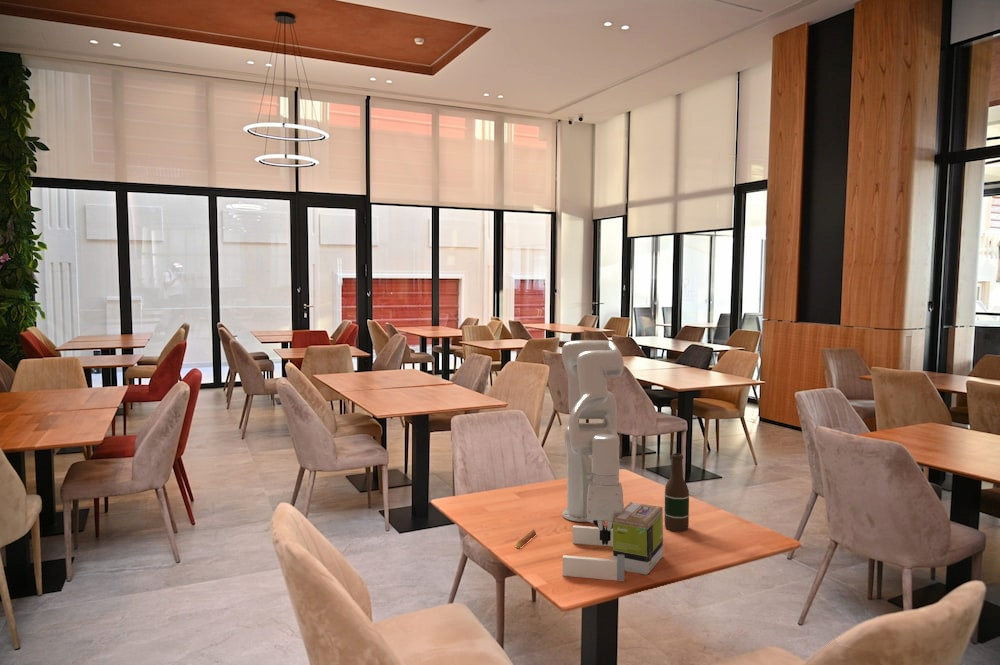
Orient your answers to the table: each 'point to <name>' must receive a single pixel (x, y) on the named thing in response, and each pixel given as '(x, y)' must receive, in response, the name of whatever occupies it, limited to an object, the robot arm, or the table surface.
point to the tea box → (639, 537)
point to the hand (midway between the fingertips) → (605, 542)
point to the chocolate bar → (526, 538)
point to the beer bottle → (676, 498)
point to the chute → (592, 566)
